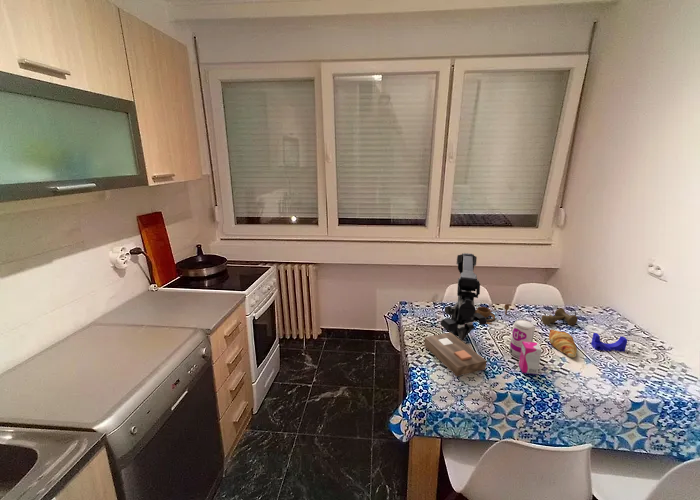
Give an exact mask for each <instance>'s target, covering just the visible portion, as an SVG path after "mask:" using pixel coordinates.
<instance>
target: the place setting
mask: <svg viewBox="0 0 700 500" xmlns="http://www.w3.org/2000/svg"><path fill="white" fill-rule="evenodd" d="M503 307H504V310H505V311H504V315H508V310H509V309H510V304H506V303H505V304H504V306H503ZM475 313H479V314H481V315H482V316H484V317H485V318H486V320H487V321H486V324H485V325H493V321H494V320H495V319H496V315H495V314H494V313H493V310H491V308H488V307H486V306H478V307H477V308H476V309H475ZM488 317H489V318H490V317H491V319H487V318H488Z"/></svg>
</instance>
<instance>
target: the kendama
mask: <svg viewBox="0 0 700 500" xmlns="http://www.w3.org/2000/svg"><path fill="white" fill-rule="evenodd" d="M561 320H564V321H566V323H567V325H568V326H572V327H573V326H575V325H576V324H577V323H578V317H577V315H576V314H568V313H566V310H565V309H564V308H561V307H560V308H557V309H556V310H555V312H554V315H552V314H549V315H546V314H543V315H541V322H542V324H543V325H544V326H548V325H550V324H555V323H556V322H558V321H561Z"/></svg>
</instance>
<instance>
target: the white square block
mask: <svg viewBox="0 0 700 500" xmlns="http://www.w3.org/2000/svg"><path fill="white" fill-rule="evenodd" d="M438 341H439V342H441V343H442V344H443V345H449V344H453V343H452V342H451V341H450V340H449V339H448V338H444V339H439V340H438Z"/></svg>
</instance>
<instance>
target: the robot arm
mask: <svg viewBox="0 0 700 500" xmlns="http://www.w3.org/2000/svg"><path fill="white" fill-rule="evenodd" d="M456 265H457V270H458V272H459V277H458V280H457V289H456V291H457V293H456V294H457V295H456V296H457V302H456V303H455V305H454V306H450V305H447V306H445V307H444V313H445V314H446V315H448V316H450V317H447V318H442V319H441V320H440V326H441V327H442V328H444V329H445V330H446V331H447V332H449V333H450V332H451V333H452V334H453V335H455V336H456V337H457V338H459V339H460V340H461V341H462V342H463V341H465V339H466V338H467V336H468V335H469V334H470V333H471V332H472V330H473V329H475V326H474V324H473V323H477V322H478V324H479V325H480V326H485V325H487V324H486V323H487V322H486V321H487V320H488V319H487V318H485V317H484V316H482V315H481V314H479V313H475V310H476V304H475V299H476V298H477V299H478V298H479V296H480V292H481V283H480V280H479V279H478V275H477V274H476V273H475V272H474V270H475V267H476V266H477V256H475V254H474V253H469V252H467V253H466V252H464V253H461V254H457V256H456Z"/></svg>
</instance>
